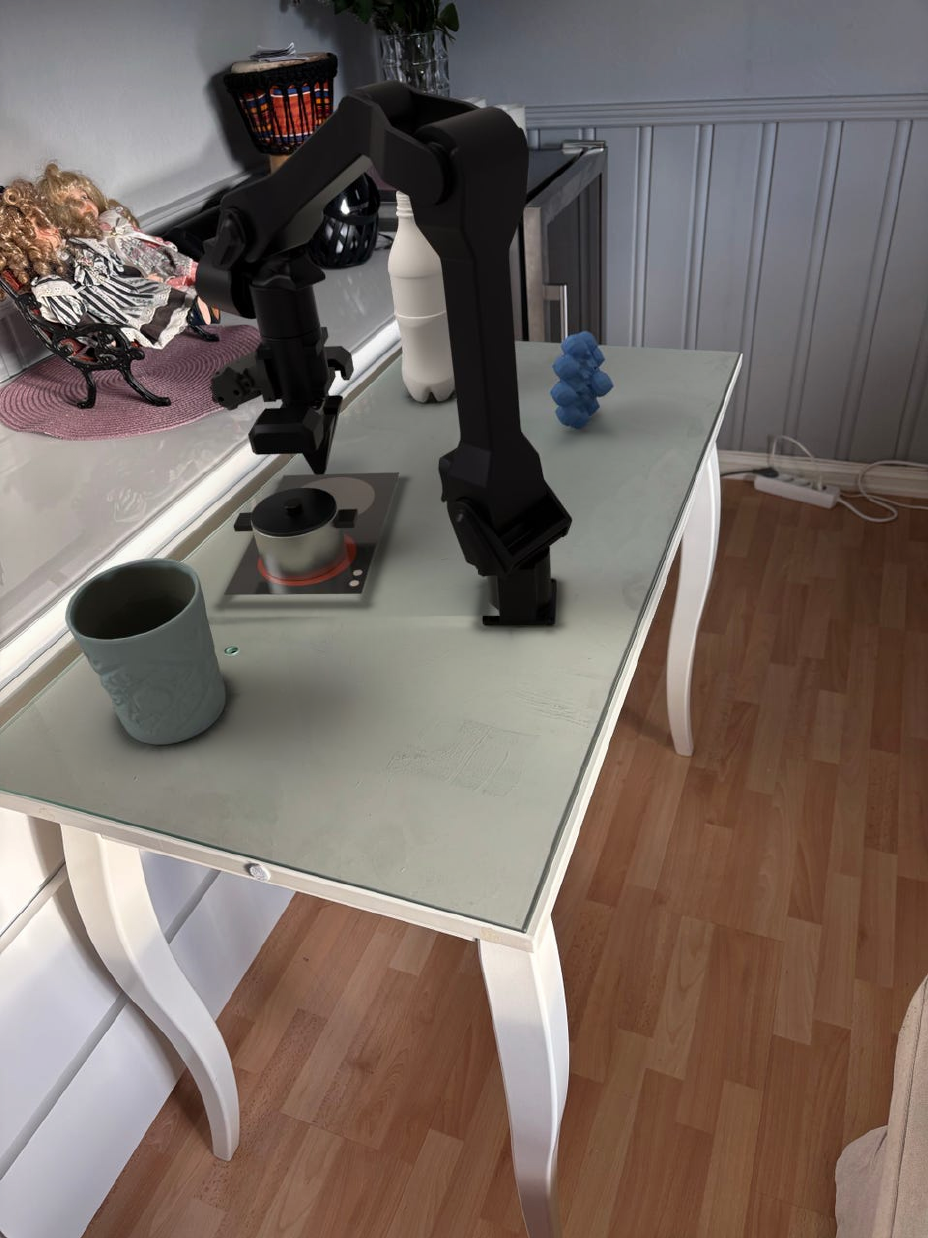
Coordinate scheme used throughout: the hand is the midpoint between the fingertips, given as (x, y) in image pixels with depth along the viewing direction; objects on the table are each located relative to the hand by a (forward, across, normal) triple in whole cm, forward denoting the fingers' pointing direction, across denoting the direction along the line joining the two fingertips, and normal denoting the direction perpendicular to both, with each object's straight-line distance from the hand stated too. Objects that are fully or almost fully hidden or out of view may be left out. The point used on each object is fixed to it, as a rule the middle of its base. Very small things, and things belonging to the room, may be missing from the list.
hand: (320, 472), depth 95 cm
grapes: (+5, -18, +28) cm, 33 cm away
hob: (+5, +5, 0) cm, 7 cm away
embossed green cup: (+5, +30, -6) cm, 31 cm away
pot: (+4, +10, 0) cm, 10 cm away
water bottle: (+5, -29, +8) cm, 30 cm away
